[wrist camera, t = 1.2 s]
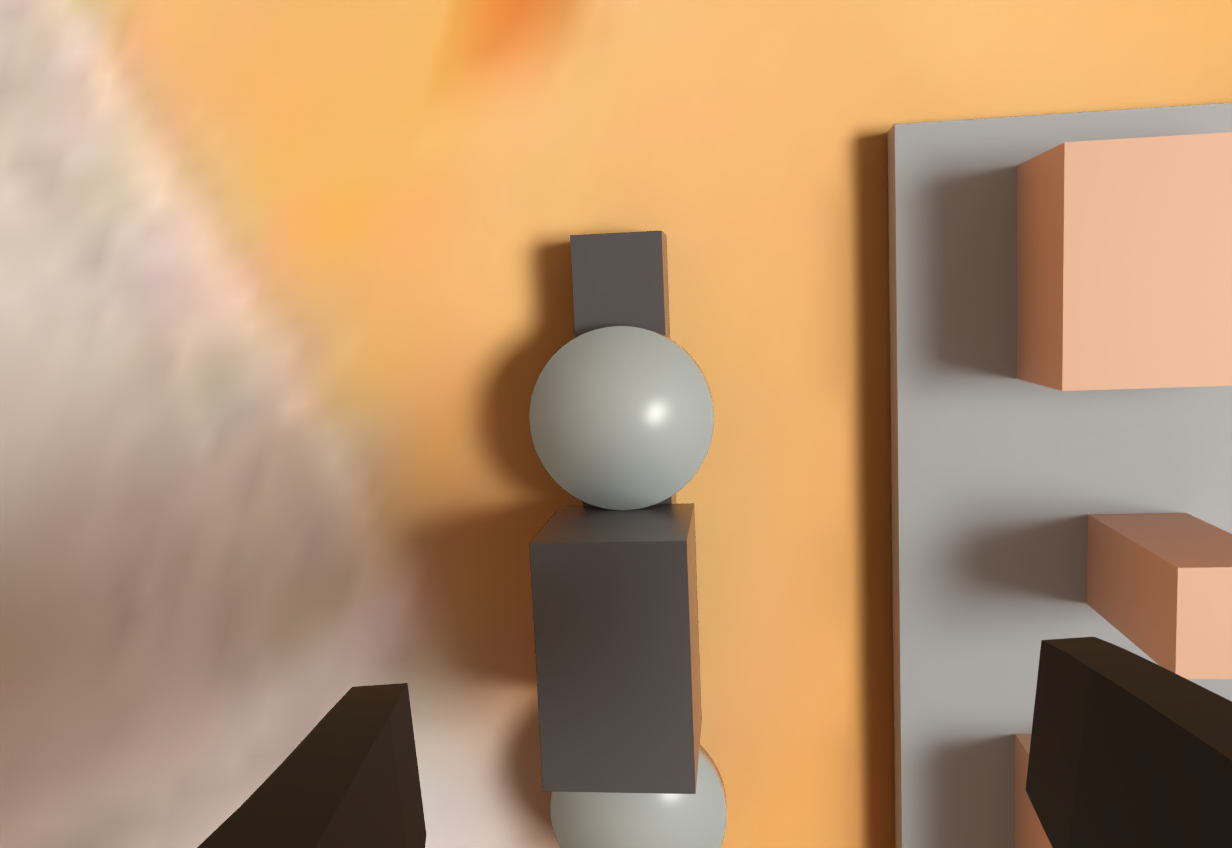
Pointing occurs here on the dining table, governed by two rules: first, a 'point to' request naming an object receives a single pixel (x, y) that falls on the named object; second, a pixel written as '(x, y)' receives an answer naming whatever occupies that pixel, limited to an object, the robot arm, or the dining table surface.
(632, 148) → the dining table surface
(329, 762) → the robot arm
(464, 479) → the dining table surface
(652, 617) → the stacked ball block column
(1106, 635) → the display stand
